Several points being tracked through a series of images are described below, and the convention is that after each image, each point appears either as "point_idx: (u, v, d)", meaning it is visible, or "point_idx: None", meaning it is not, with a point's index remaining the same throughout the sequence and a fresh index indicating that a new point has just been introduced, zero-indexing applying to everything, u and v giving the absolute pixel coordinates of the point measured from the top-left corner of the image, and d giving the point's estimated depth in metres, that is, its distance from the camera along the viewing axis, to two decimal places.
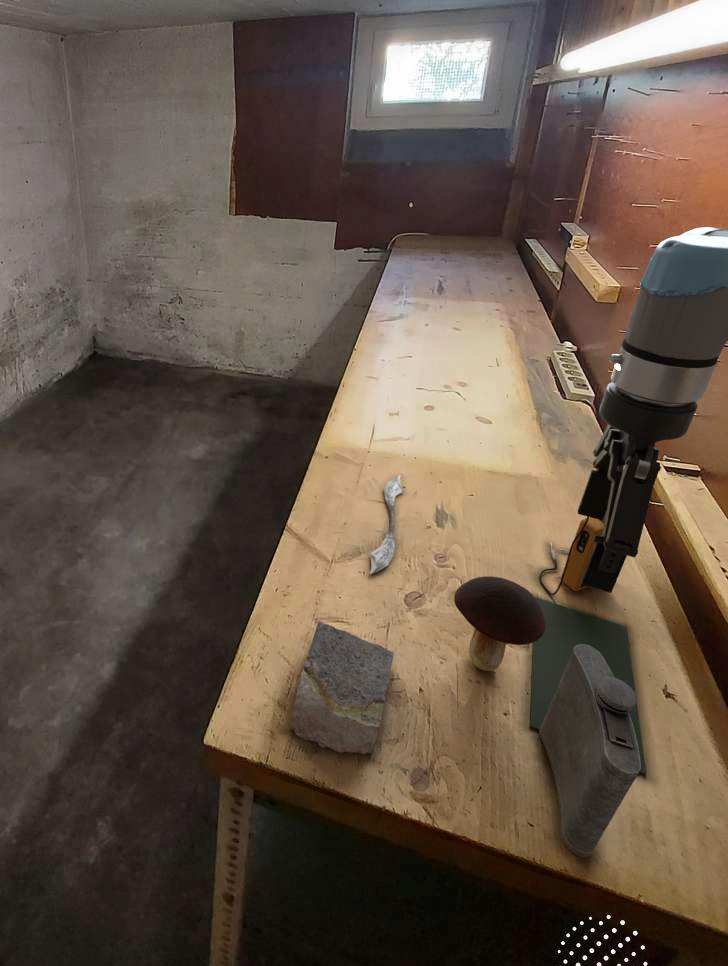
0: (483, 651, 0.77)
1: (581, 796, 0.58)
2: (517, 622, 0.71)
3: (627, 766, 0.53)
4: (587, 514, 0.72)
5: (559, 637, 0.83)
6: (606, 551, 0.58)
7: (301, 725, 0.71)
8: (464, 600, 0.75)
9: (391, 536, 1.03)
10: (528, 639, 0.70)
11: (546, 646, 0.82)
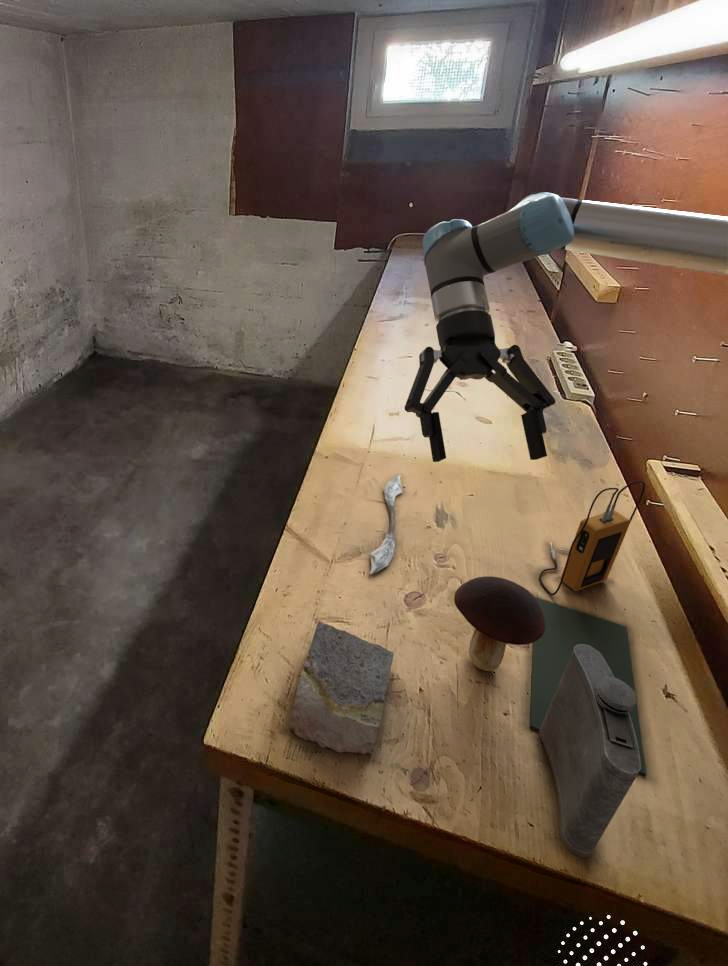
0: (483, 651, 0.77)
1: (581, 796, 0.58)
2: (517, 622, 0.71)
3: (627, 766, 0.53)
4: (534, 456, 0.78)
5: (559, 637, 0.83)
6: (420, 419, 0.80)
7: (300, 725, 0.71)
8: (464, 600, 0.75)
9: (391, 536, 1.03)
10: (528, 639, 0.70)
11: (546, 646, 0.82)
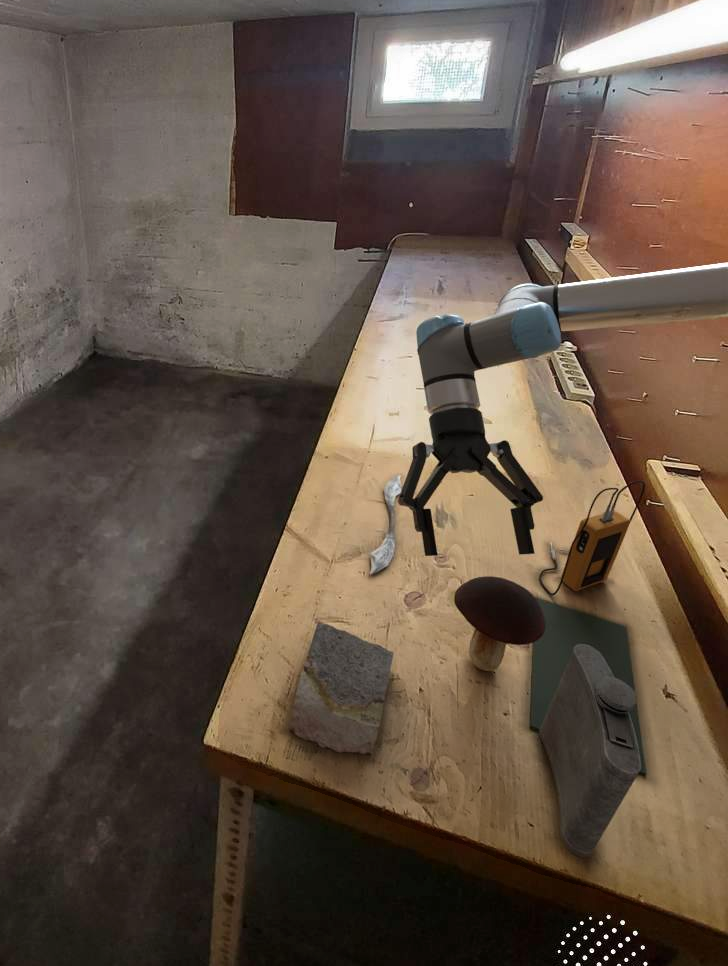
0: (483, 651, 0.77)
1: (581, 796, 0.58)
2: (517, 622, 0.71)
3: (627, 766, 0.53)
4: (522, 551, 0.81)
5: (559, 637, 0.83)
6: (413, 513, 0.83)
7: (300, 725, 0.71)
8: (464, 600, 0.75)
9: (391, 536, 1.03)
10: (528, 639, 0.70)
11: (546, 646, 0.82)
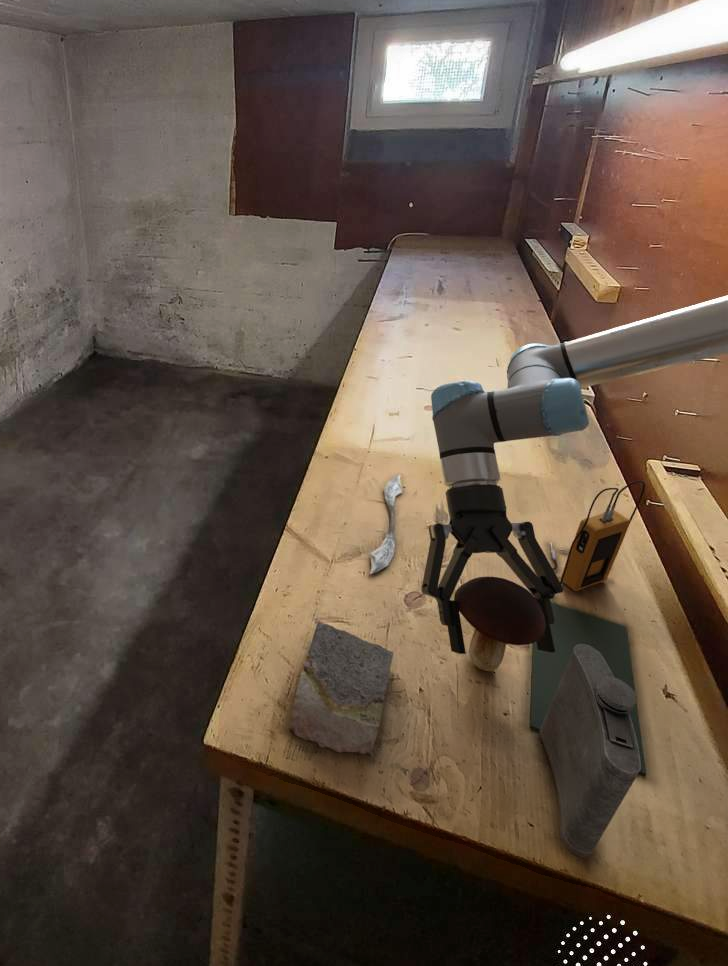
0: (483, 651, 0.77)
1: (581, 796, 0.58)
2: (517, 622, 0.71)
3: (627, 766, 0.53)
4: (541, 648, 0.75)
5: (559, 637, 0.83)
6: (438, 604, 0.77)
7: (300, 725, 0.71)
8: (464, 600, 0.75)
9: (391, 536, 1.03)
10: (528, 639, 0.70)
11: None
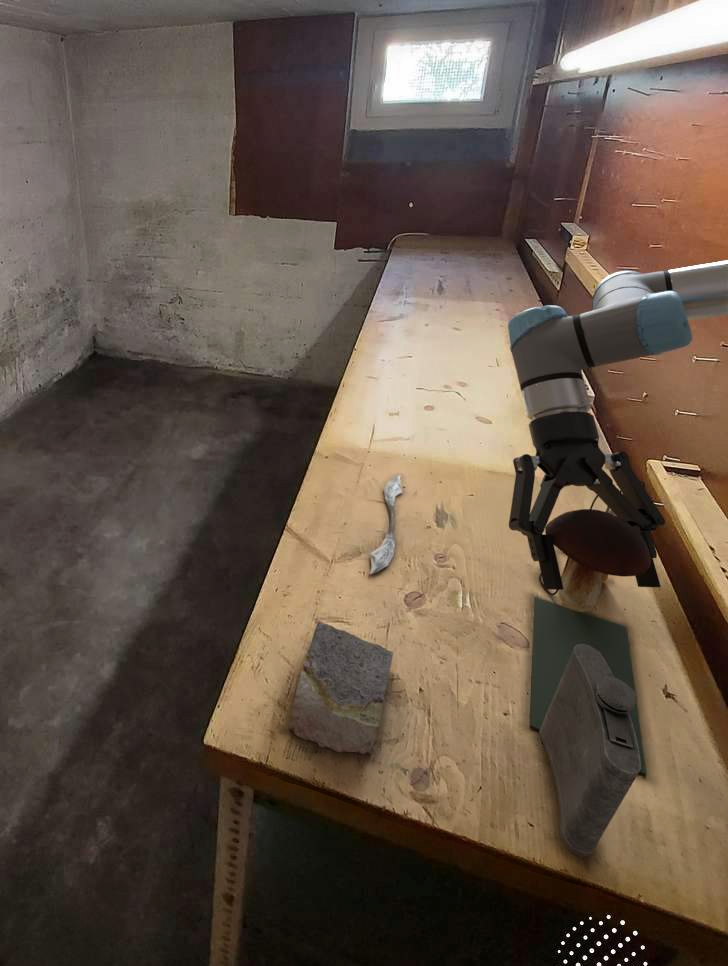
0: (577, 589, 0.71)
1: (581, 796, 0.58)
2: (623, 552, 0.65)
3: (627, 766, 0.53)
4: (643, 584, 0.70)
5: (559, 637, 0.83)
6: (528, 539, 0.72)
7: (300, 725, 0.71)
8: (559, 533, 0.70)
9: (391, 536, 1.03)
10: (635, 570, 0.65)
11: (546, 646, 0.82)
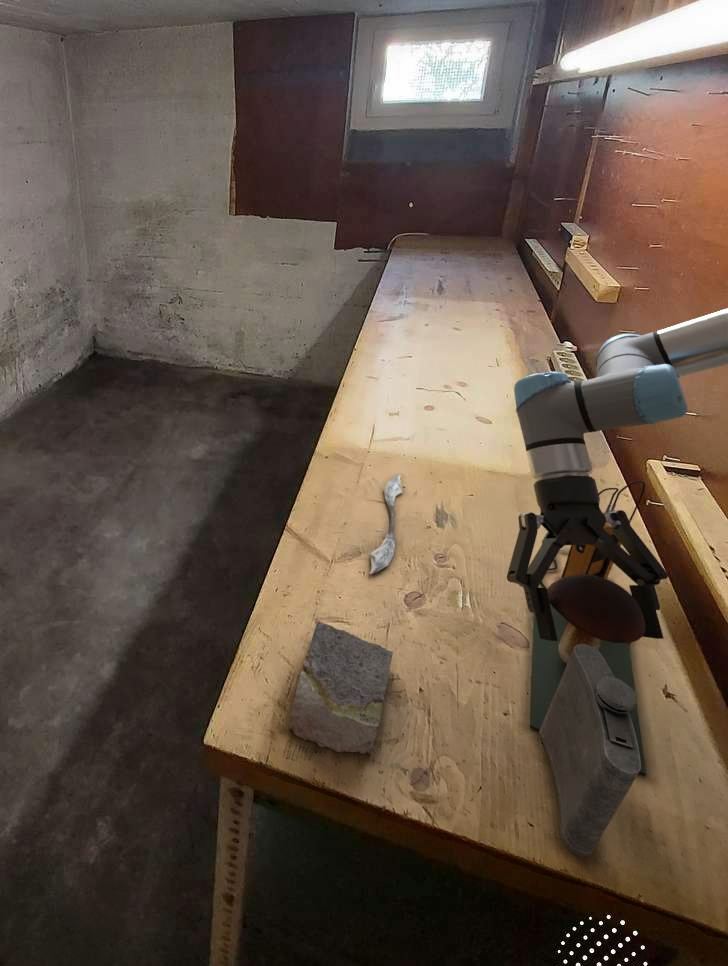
0: None
1: (581, 796, 0.58)
2: (619, 620, 0.70)
3: (627, 766, 0.53)
4: (647, 634, 0.74)
5: (559, 637, 0.83)
6: (525, 591, 0.77)
7: (300, 725, 0.71)
8: (560, 598, 0.75)
9: (392, 536, 1.03)
10: (631, 637, 0.70)
11: (546, 646, 0.82)
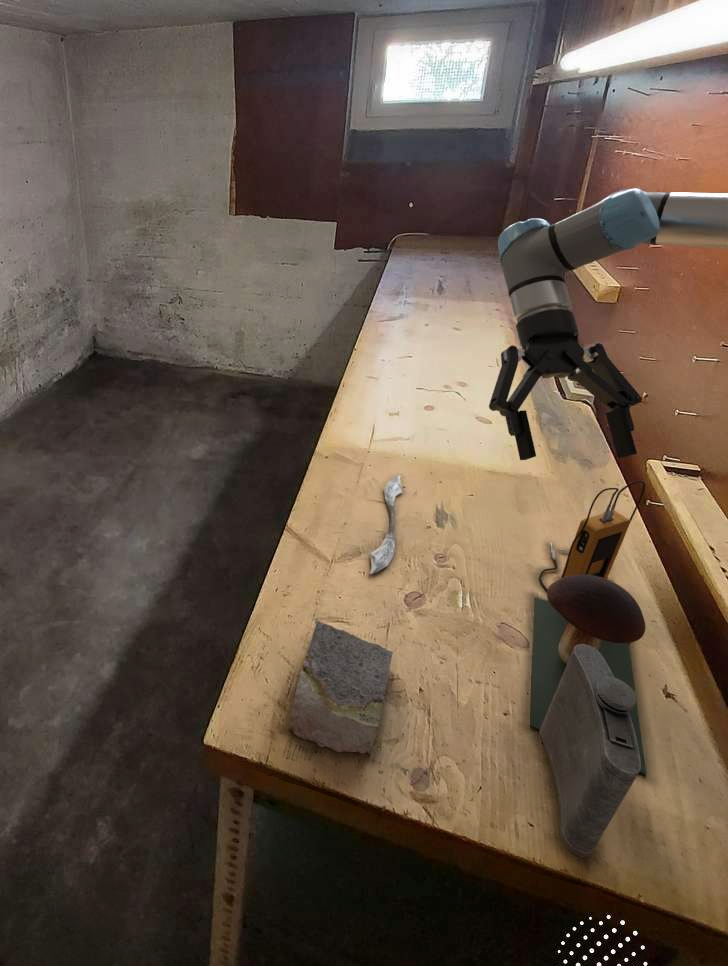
0: None
1: (581, 796, 0.58)
2: (619, 620, 0.70)
3: (627, 766, 0.53)
4: (622, 454, 0.78)
5: (559, 637, 0.83)
6: (506, 417, 0.80)
7: (299, 724, 0.71)
8: (560, 598, 0.75)
9: (391, 536, 1.03)
10: (631, 637, 0.70)
11: (546, 646, 0.82)
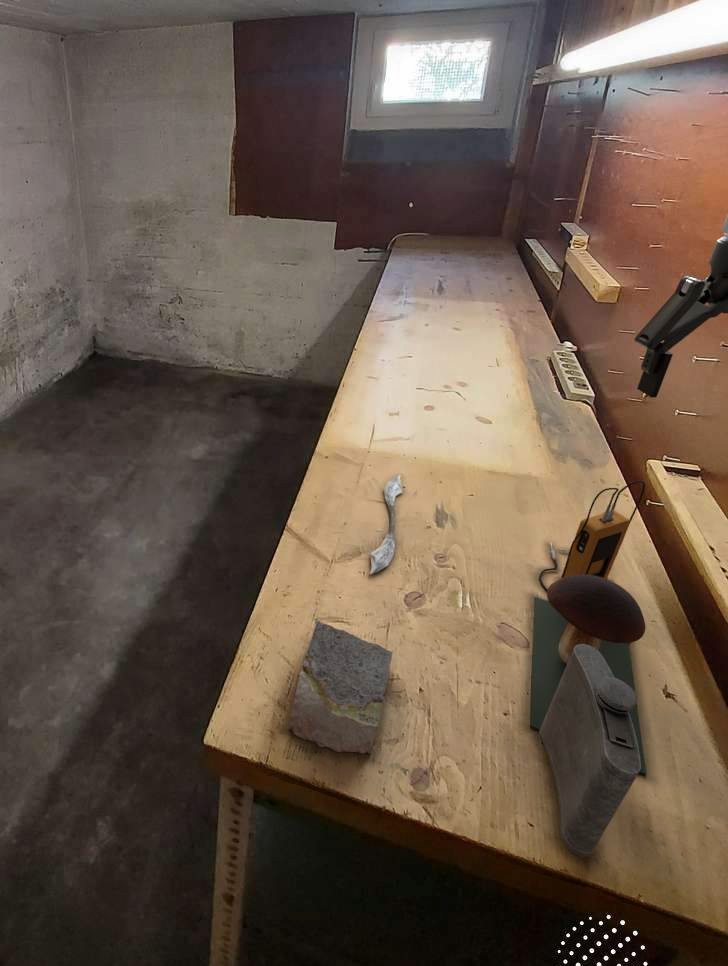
0: None
1: (581, 796, 0.58)
2: (619, 620, 0.70)
3: (627, 766, 0.53)
4: None
5: (559, 637, 0.83)
6: (646, 352, 0.77)
7: (299, 724, 0.71)
8: (560, 598, 0.75)
9: (392, 536, 1.03)
10: (631, 637, 0.70)
11: (546, 646, 0.82)
